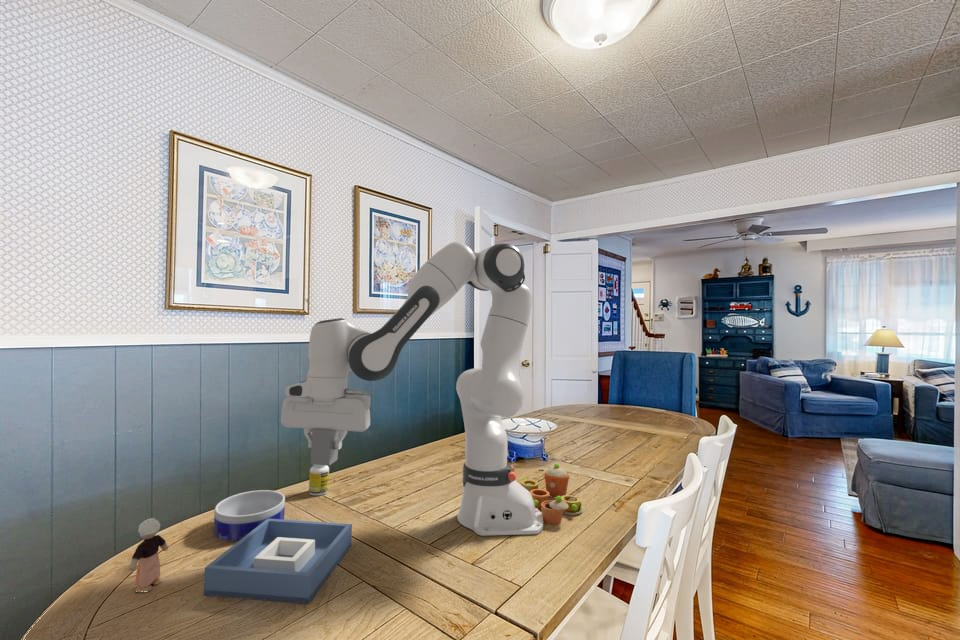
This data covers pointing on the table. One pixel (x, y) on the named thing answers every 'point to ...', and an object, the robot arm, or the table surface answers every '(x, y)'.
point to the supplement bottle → (319, 480)
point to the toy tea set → (555, 488)
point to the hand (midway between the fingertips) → (324, 448)
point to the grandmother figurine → (148, 555)
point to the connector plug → (323, 446)
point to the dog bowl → (246, 513)
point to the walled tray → (279, 561)
